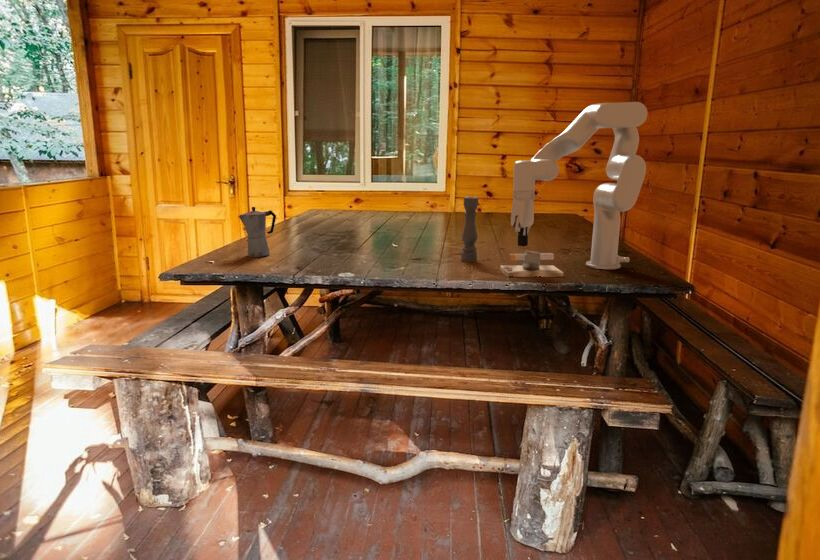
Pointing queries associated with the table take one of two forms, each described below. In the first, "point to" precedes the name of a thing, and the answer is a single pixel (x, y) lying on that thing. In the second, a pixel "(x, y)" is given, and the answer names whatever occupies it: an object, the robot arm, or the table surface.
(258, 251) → the moka pot
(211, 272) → the table surface
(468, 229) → the candle holder
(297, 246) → the table surface
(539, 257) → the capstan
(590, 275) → the table surface
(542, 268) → the stand
